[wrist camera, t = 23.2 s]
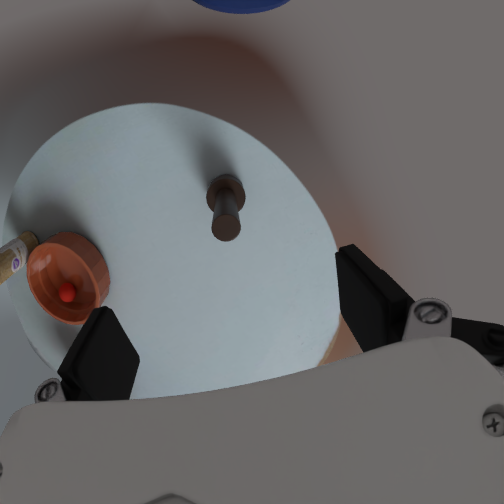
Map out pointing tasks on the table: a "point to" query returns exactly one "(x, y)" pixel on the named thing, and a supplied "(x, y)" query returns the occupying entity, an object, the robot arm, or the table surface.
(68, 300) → the berry
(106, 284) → the bowl
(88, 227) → the table surface
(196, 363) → the table surface
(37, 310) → the table surface
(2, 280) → the sprinkles bottle
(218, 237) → the brown wooden peg
